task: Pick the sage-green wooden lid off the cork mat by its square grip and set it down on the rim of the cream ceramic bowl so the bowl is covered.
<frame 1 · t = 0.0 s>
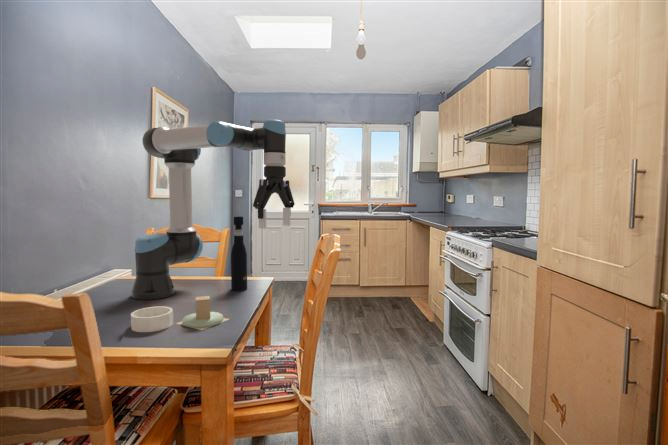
hand: (275, 227, 137), 28 cm above the table, fingers open, 13 cm apart
lid: (203, 321, 118), point 1 cm above the table, touching mat
bowl: (152, 328, 114), on the table
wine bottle: (239, 289, 161), on the table
mat: (203, 324, 118), on the table
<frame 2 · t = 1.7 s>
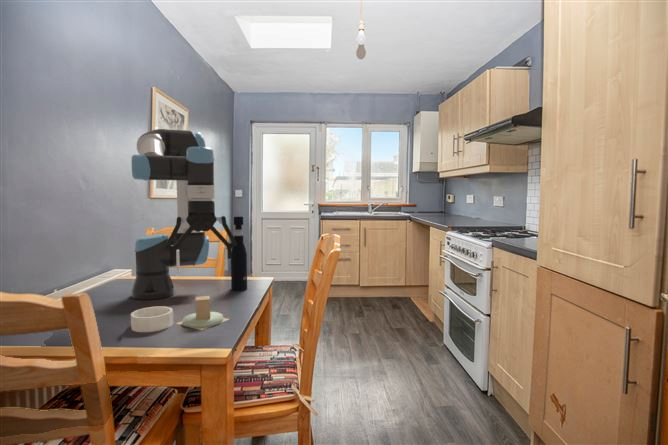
hand: (202, 270, 117), 16 cm above the table, fingers open, 13 cm apart
nothing on the table moved.
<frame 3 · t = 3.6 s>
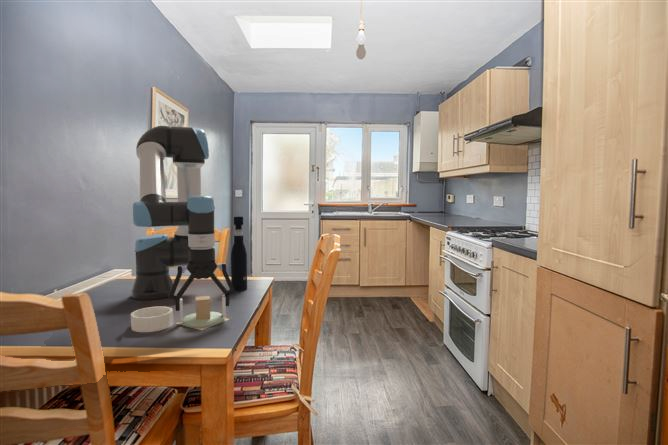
hand: (203, 318, 118), 2 cm above the table, fingers closed on lid, 12 cm apart
lid: (203, 321, 118), point 1 cm above the table, touching gripper, mat
everything else where it was.
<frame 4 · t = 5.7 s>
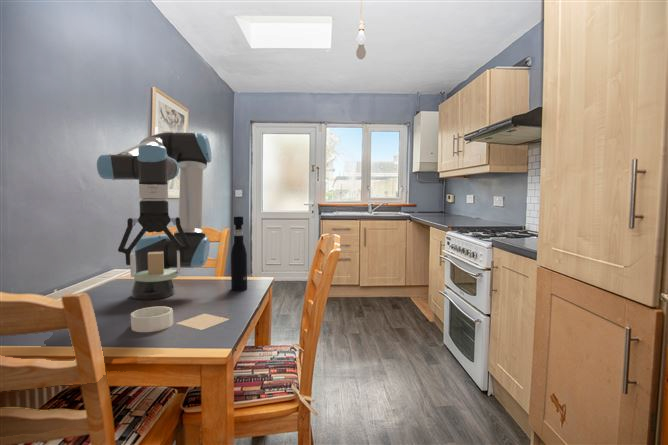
hand: (156, 274, 114), 16 cm above the table, fingers closed on lid, 11 cm apart
lid: (156, 277, 114), point 15 cm above the table, touching gripper
everything else where it was.
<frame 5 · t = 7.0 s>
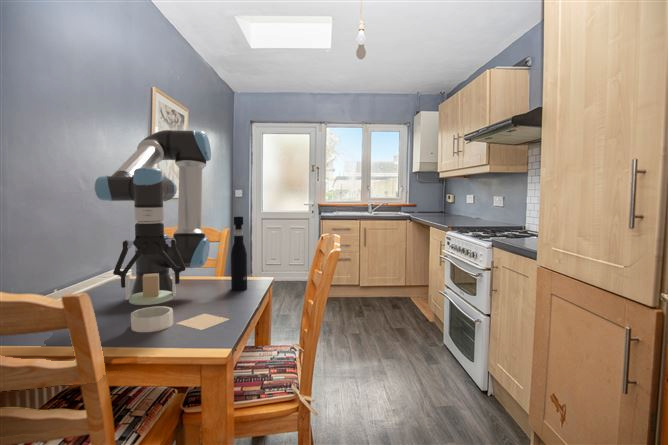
hand: (151, 296, 113), 10 cm above the table, fingers closed on lid, 11 cm apart
lid: (151, 299, 114), point 9 cm above the table, touching gripper
everything else where it was.
when the fingers open (7 cm above the table, at t = 8.1 s): lid drops 1 cm, resting on bowl.
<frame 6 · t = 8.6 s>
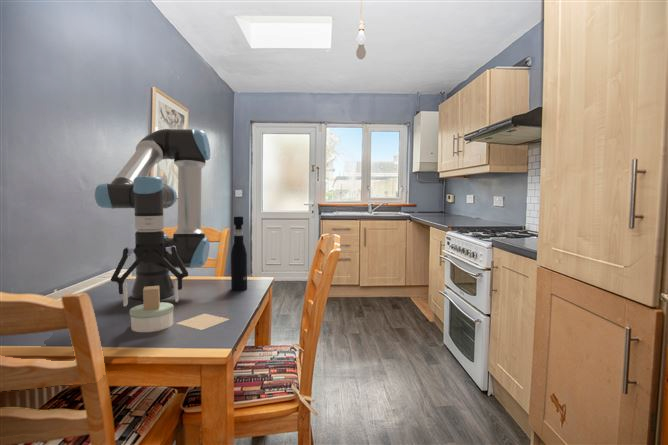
hand: (151, 302, 114), 8 cm above the table, fingers open, 13 cm apart
lid: (152, 311, 114), point 5 cm above the table, touching bowl
everything else where it was.
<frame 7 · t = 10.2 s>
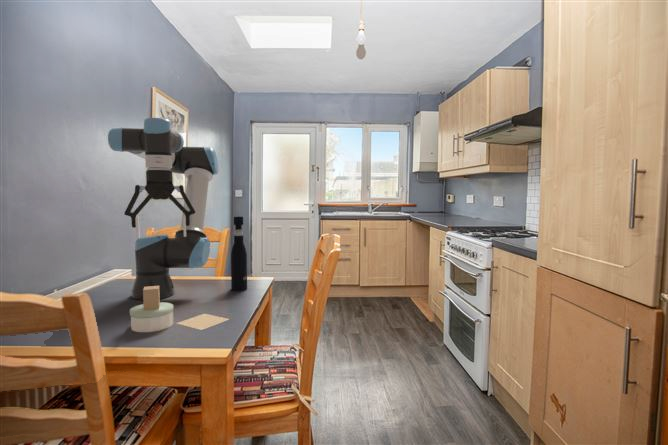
hand: (162, 237, 123), 26 cm above the table, fingers open, 13 cm apart
nothing on the table moved.
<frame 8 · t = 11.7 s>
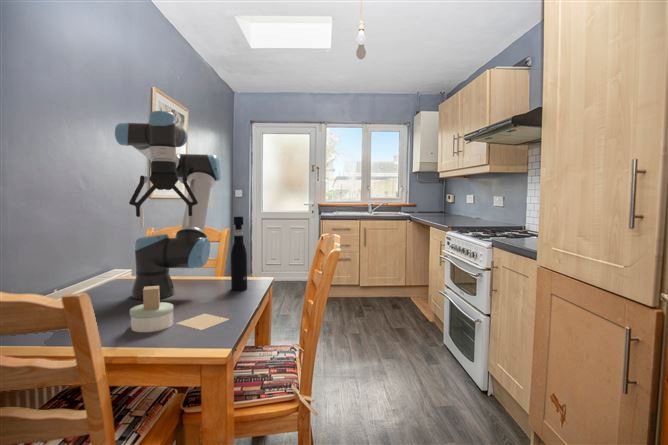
hand: (165, 226, 127), 29 cm above the table, fingers open, 13 cm apart
nothing on the table moved.
at the end: lid 0.0 cm off-centre on the bowl, point 5.0 cm above the bowl's base; lid tilted 0°; the gripper is holding nothing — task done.
